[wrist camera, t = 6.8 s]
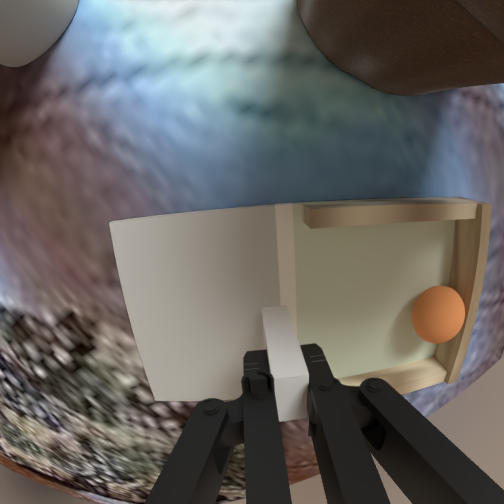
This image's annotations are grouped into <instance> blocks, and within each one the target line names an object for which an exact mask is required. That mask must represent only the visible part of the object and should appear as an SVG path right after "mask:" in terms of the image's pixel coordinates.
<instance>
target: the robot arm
mask: <svg viewBox="0 0 504 504" xmlns="http://www.w3.org/2000/svg"><path fill="white" fill-rule="evenodd" d="M261 310H262V323H263V336H264V348H265V350H254V351H247V352H246V354H245V355H244V357H243V369H244V370H243V371H244V376H243V377H242V379H241V384H242V392H243V393H242V395H241V396H240V397H239V398H237V399H235V400H233V401H230V402H227V403H225V402H224V401H222V400H220V399H217V398H208V399H204V400H202V401H200V402H199V403H198V404H197V405H196V406H195V408H194V410H193V412H192V414H191V416H190V418H189V420H188V422H187V424H186V426H185V428H184V430H183V431H182V433H181V435H180V437H179V439H178V441H177V443H176V445H175V447H174V449H173V451H172V452H171V454H170V456H169V458H168V460H167V462H166V464H165V466H164V468H163V469H162V471H161V473H160V475H159V477H158V479H157V481H156V483H155V484H154V486H153V488H152V490H151V492H150V494H149V496H148V497H147V499H146V501H145V503H144V504H215V501H216V499H217V496H218V493H219V490H220V487H221V485H222V482H223V479H224V476H225V473H226V470H227V467H228V465H229V462H230V459H231V456H232V453H233V450H234V446H235V445H238V444H241V443H244V450H245V480H246V504H292V501H291V495H290V489H289V482H288V475H287V469H286V462H285V456H284V449H283V443H282V436H281V430H280V423H279V422H280V421H289V420H297V419H304V418H307V412H308V416H309V431H308V436H311V437H312V441H313V445H314V449H315V453H316V457H317V462H318V466H319V470H320V474H321V478H322V482H323V486H324V491H325V494H326V499H327V503H328V504H390V501H389V499H388V496H387V493H386V491H385V488H384V486H383V483H382V481H381V478H380V475H379V473H378V470H377V468H376V465H375V463H374V461H373V458H372V456H371V454H372V455H373V456H374V457H375V459H376V460H377V461H378V462H379V464H380V465H381V466H382V467H383V469H384V470H385V471H386V472H387V473H388V475H389V476H390V477H391V478H392V480H393V481H394V482H395V483H396V484H397V486H398V487H399V488H400V489H401V490H402V492H403V493H404V494H405V495H406V497H407V498H408V499H409V500H410V501H411V502H412V504H504V490H503V489H502V488H501V487H500V486H499V485H498V484H496V483H495V482H494V481H493V480H492V479H491V478H490V477H489V476H488V475H487V474H486V473H484V472H483V471H482V470H481V469H480V468H479V467H478V466H477V465H476V464H475V463H474V462H473V461H471V459H469V458H468V457H467V456H466V455H465V454H464V453H463V452H462V451H461V450H460V449H459V448H458V447H456V446H455V445H454V444H453V443H452V442H451V441H450V440H449V439H448V438H447V437H445V435H444V434H442V433H441V432H440V431H439V430H438V429H437V428H436V427H435V426H434V425H433V424H432V423H431V422H429V421H428V420H427V419H426V418H425V417H424V416H423V415H422V414H421V413H420V412H419V411H418V410H417V409H416V408H414V407H413V406H412V405H411V404H410V403H409V402H408V401H407V400H406V399H405V398H404V397H403V396H402V395H400V394H399V393H398V392H397V391H396V390H395V389H394V388H393V387H392V386H391V385H390V384H389V383H388V382H386V381H385V380H383V379H381V378H368V379H365V380H364V381H362V383H361V384H360V386H348V385H344V384H341V382H340V381H339V380H338V379H336V378H335V377H334V376H333V374H332V371H331V369H330V367H329V364H328V362H327V360H326V357H325V355H324V352H323V350H322V348H321V347H320V346H318V345H317V344H316V343H312V344H305V345H299V341H298V338H297V335H296V332H295V329H294V326H293V323H292V320H291V317H290V314H289V311H288V307H287V305H283V306H272V307H262V308H261ZM370 452H371V453H370Z"/></svg>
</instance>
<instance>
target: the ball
mask: <svg viewBox="0 0 504 504" xmlns="http://www.w3.org/2000/svg"><path fill="white" fill-rule="evenodd" d="M464 319H465V307H464V303H463V300H462V298H461V297H460V295H459V294H458V293H457V292H456V291H455V290H453V289H452V288H450V287H447V286H441V285H440V286H433V287H430V288H428V289H427V290H425V291H424V292H423V293H421V294H420V296H419V297H418V298H417V300H416V302H415V304H414V306H413V310H412V323H413V326H414V329H415V331H416V333H417V334H418V335H419V336H420V337H421V338H422V339H423V340H425V341H427V342H429V343H434V344H439V343H444V342H447V341H449V340H450V339H452V338H453V337H455V336H456V335H457V333H458V332H459V331H460V329H461V327H462V325H463V323H464Z"/></svg>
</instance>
